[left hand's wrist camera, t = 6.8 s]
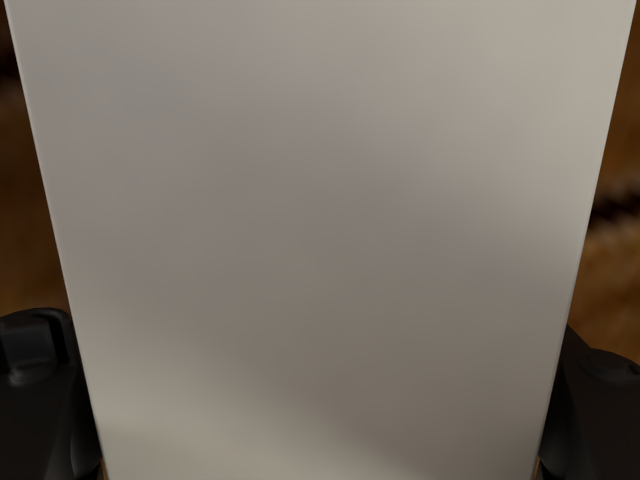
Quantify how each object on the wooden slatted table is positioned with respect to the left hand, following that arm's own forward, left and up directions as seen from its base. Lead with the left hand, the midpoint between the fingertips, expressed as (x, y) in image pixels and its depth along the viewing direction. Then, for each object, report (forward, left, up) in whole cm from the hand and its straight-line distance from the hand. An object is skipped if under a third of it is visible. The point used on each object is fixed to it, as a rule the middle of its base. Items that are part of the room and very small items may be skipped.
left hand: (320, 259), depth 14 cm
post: (+6, +18, 0) cm, 19 cm away
